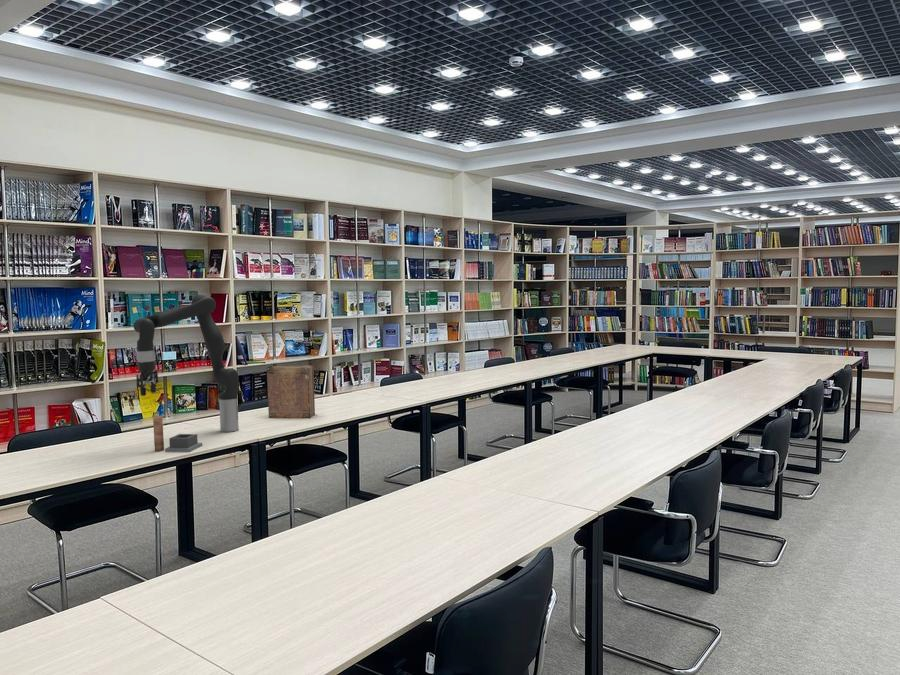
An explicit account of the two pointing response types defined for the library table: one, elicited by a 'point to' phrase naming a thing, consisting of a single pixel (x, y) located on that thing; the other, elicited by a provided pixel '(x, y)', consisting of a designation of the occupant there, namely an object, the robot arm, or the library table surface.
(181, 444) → the socket board
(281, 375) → the book
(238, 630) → the library table surface
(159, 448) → the peg
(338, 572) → the library table surface
